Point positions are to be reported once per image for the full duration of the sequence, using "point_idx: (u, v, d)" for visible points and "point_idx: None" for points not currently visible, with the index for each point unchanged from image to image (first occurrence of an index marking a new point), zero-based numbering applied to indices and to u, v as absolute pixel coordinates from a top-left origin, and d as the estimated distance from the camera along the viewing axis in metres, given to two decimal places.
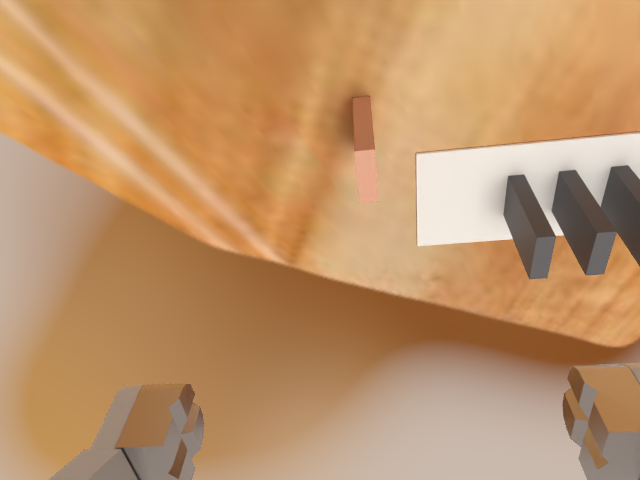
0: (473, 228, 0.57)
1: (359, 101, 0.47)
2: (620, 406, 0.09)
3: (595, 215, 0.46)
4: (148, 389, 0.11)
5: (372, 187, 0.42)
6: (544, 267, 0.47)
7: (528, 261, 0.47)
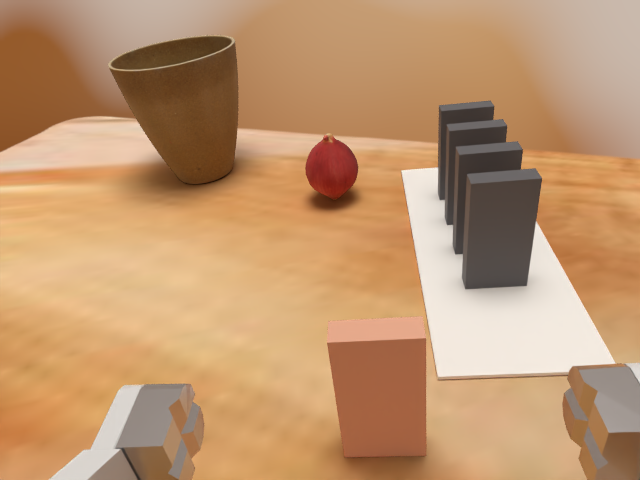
0: (558, 309, 0.40)
1: None
2: (620, 406, 0.09)
3: (456, 177, 0.43)
4: (148, 389, 0.11)
5: (393, 322, 0.27)
6: (518, 172, 0.38)
7: (521, 191, 0.38)
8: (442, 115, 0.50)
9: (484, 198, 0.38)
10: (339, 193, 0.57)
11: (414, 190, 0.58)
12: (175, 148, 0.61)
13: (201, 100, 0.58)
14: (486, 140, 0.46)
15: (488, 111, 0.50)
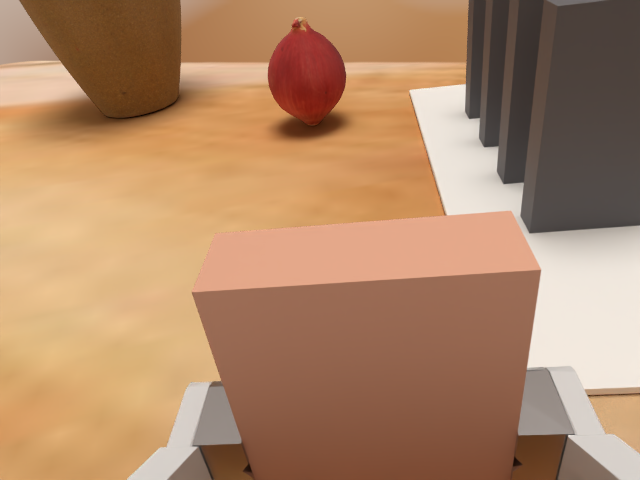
0: None
1: None
2: (533, 409, 0.09)
3: (511, 40, 0.25)
4: (217, 386, 0.11)
5: (420, 230, 0.08)
6: None
7: None
8: None
9: (581, 40, 0.19)
10: (318, 112, 0.38)
11: (429, 109, 0.39)
12: (85, 58, 0.43)
13: None
14: None
15: None
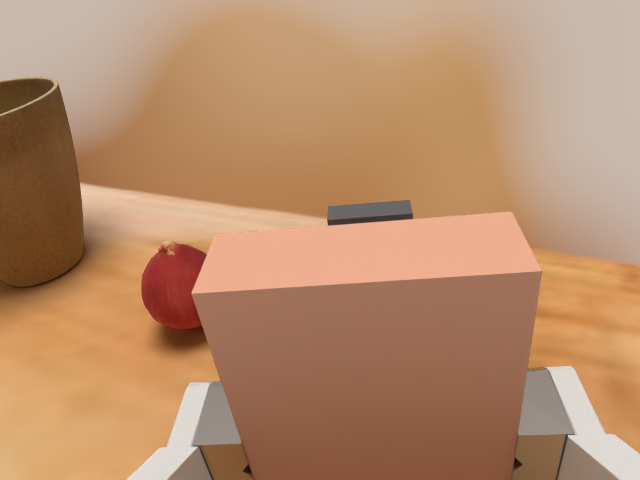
0: None
1: None
2: (533, 409, 0.09)
3: None
4: (217, 386, 0.11)
5: (420, 231, 0.08)
6: None
7: None
8: None
9: None
10: (193, 326, 0.37)
11: None
12: None
13: None
14: None
15: None
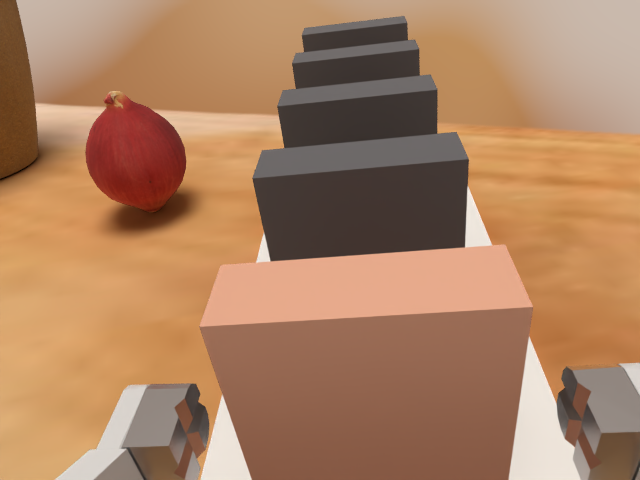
0: None
1: None
2: (613, 406, 0.09)
3: None
4: (154, 389, 0.11)
5: (418, 263, 0.09)
6: (403, 144, 0.13)
7: (409, 201, 0.12)
8: (305, 44, 0.25)
9: (303, 222, 0.13)
10: (149, 202, 0.31)
11: None
12: None
13: None
14: None
15: (396, 34, 0.24)
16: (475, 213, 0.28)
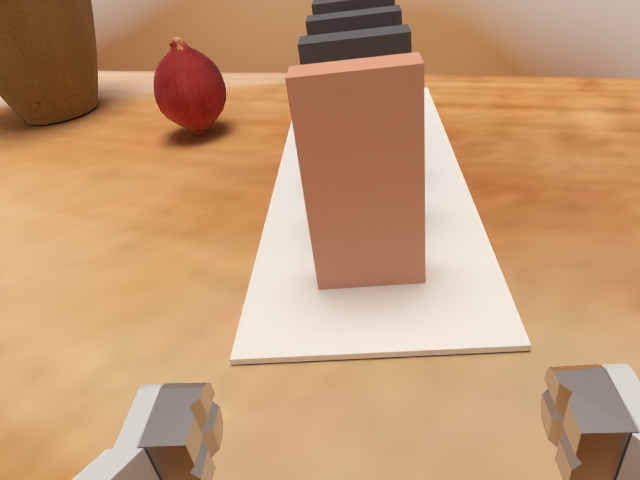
0: (453, 255, 0.25)
1: None
2: (594, 407, 0.09)
3: None
4: (168, 388, 0.11)
5: (379, 58, 0.19)
6: (378, 29, 0.23)
7: None
8: None
9: None
10: (199, 122, 0.42)
11: None
12: None
13: (18, 1, 0.43)
14: None
15: None
16: (439, 125, 0.39)
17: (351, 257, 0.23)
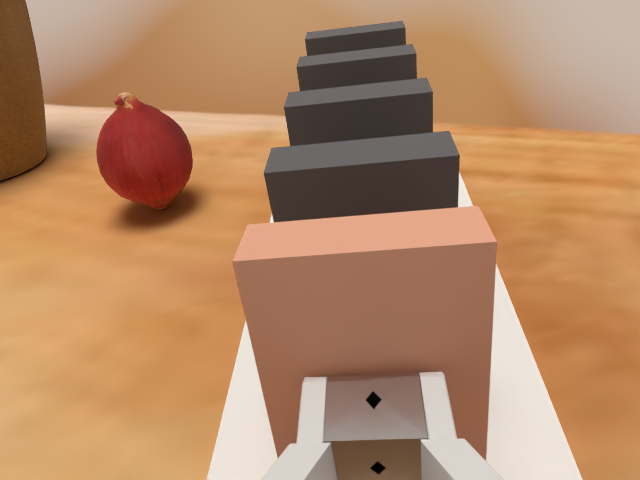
0: None
1: None
2: (395, 414, 0.10)
3: None
4: (335, 381, 0.10)
5: (407, 219, 0.11)
6: (400, 141, 0.14)
7: (406, 193, 0.13)
8: (308, 48, 0.26)
9: (310, 213, 0.14)
10: (157, 199, 0.33)
11: None
12: None
13: None
14: None
15: (395, 38, 0.26)
16: None
17: None
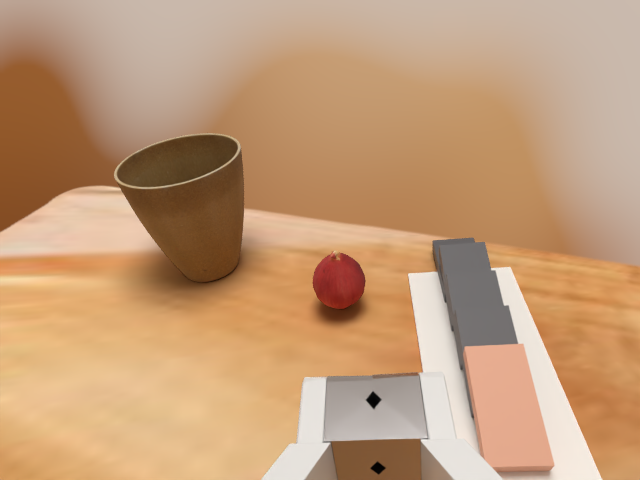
0: (571, 469, 0.40)
1: (482, 456, 0.40)
2: (395, 414, 0.10)
3: (449, 297, 0.53)
4: (335, 381, 0.10)
5: None
6: None
7: (496, 315, 0.48)
8: (434, 242, 0.64)
9: (468, 319, 0.48)
10: (346, 306, 0.56)
11: (421, 300, 0.58)
12: (181, 253, 0.61)
13: (207, 212, 0.58)
14: (471, 252, 0.57)
15: (469, 240, 0.63)
16: (531, 319, 0.53)
17: (504, 442, 0.40)
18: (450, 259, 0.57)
